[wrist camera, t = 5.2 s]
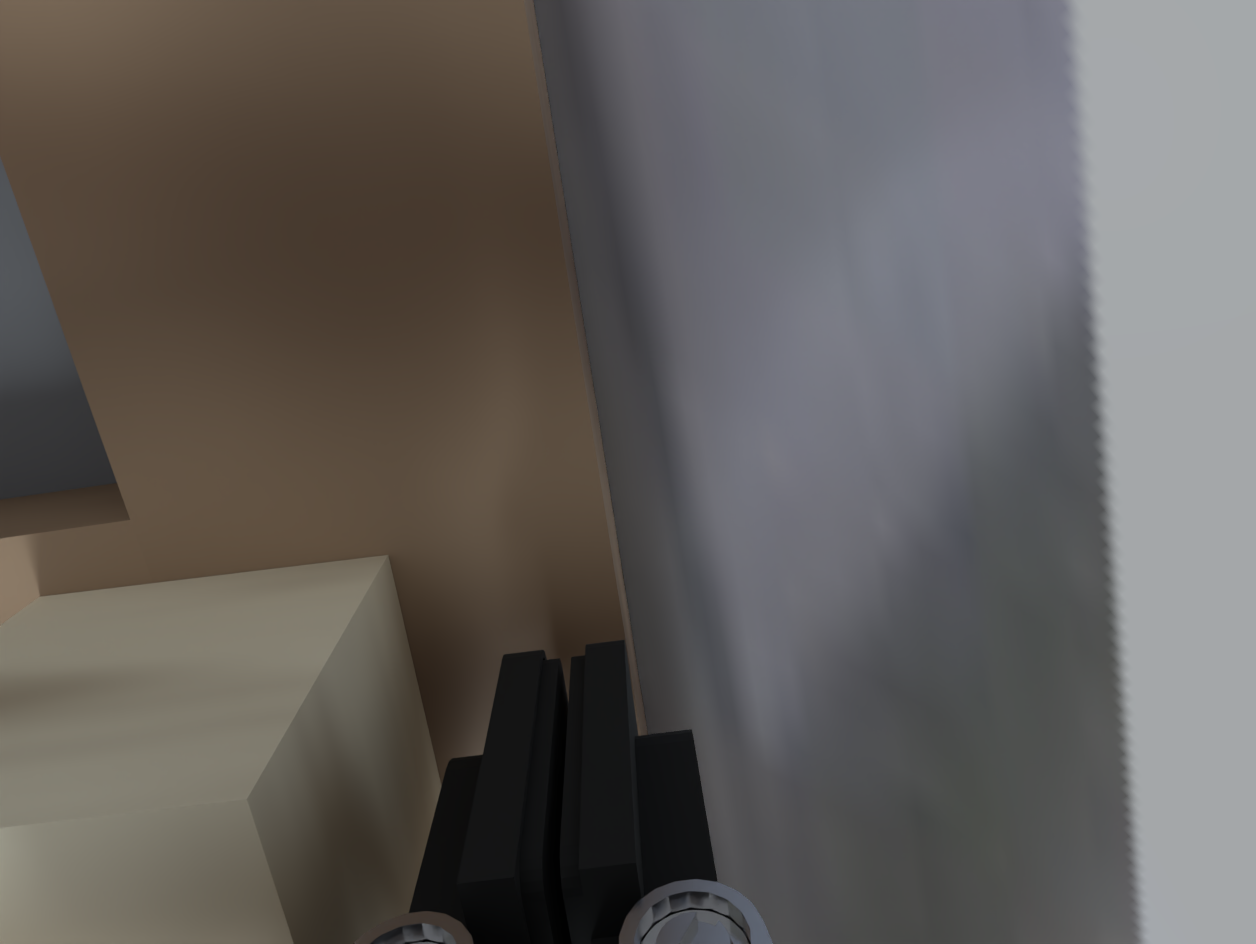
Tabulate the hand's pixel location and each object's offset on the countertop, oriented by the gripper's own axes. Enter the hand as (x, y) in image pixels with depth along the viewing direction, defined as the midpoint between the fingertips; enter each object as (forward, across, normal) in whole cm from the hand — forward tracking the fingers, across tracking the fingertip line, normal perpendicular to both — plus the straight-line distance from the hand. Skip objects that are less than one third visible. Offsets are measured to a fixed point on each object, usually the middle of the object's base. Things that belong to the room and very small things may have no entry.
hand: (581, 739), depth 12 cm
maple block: (+1, +5, 0) cm, 5 cm away
